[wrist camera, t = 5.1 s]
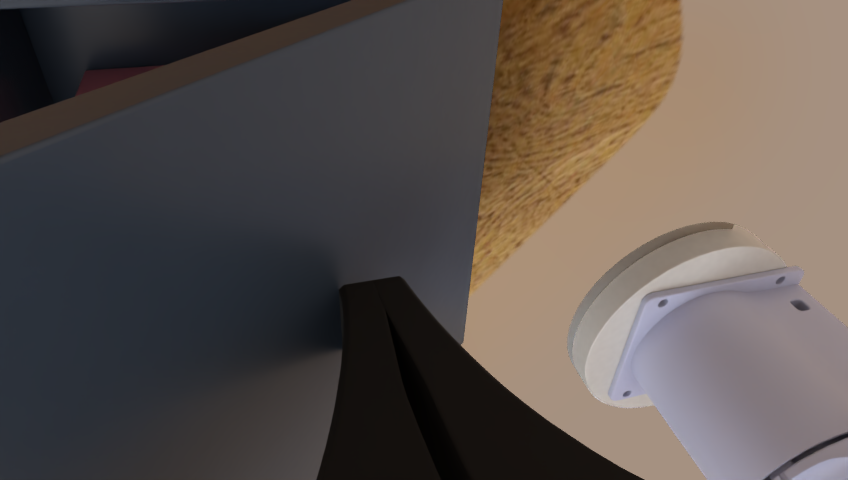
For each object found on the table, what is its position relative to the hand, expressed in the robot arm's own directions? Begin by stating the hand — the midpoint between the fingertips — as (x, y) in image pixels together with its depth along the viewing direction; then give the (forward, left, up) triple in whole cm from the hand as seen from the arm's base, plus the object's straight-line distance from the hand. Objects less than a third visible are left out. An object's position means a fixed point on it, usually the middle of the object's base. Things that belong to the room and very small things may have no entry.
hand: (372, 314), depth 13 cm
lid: (+1, 0, -1) cm, 1 cm away
